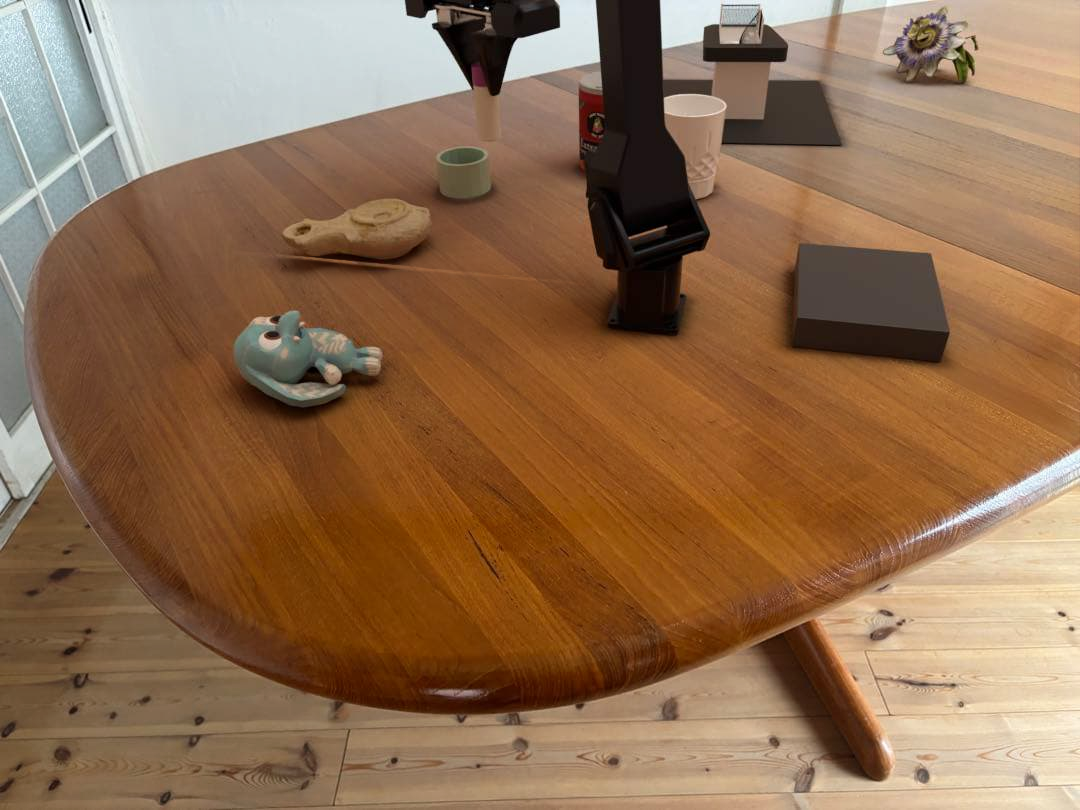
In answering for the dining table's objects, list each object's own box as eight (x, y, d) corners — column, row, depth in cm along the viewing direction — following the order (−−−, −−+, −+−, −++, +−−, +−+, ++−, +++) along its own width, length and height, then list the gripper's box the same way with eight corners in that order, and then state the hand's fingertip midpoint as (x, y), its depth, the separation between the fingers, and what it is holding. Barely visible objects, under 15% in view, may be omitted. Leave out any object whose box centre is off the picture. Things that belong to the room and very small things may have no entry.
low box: (940, 362, 68) (950, 331, 66) (791, 346, 71) (797, 317, 69) (923, 281, 79) (931, 252, 77) (794, 270, 82) (799, 242, 80)
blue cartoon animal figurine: (377, 356, 62) (213, 342, 61) (374, 429, 67) (221, 418, 65) (388, 287, 71) (244, 273, 69) (385, 355, 75) (249, 343, 73)
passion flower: (903, 116, 131) (868, 48, 127) (931, 86, 136) (899, 20, 132) (971, 87, 121) (936, 13, 118) (999, 55, 126) (966, -16, 123)
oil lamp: (283, 261, 87) (272, 217, 84) (397, 220, 94) (390, 178, 91) (332, 297, 81) (322, 251, 78) (450, 250, 88) (445, 206, 85)
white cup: (717, 204, 94) (725, 117, 88) (648, 201, 96) (652, 115, 90) (719, 178, 100) (727, 94, 94) (654, 175, 102) (658, 93, 96)
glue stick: (497, 142, 92) (491, 67, 87) (474, 141, 92) (467, 67, 87) (504, 134, 94) (499, 61, 89) (482, 133, 94) (475, 60, 90)
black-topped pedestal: (842, 145, 107) (862, 37, 99) (640, 142, 111) (644, 37, 103) (818, 81, 129) (834, -12, 121) (651, 80, 133) (655, -11, 125)
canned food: (569, 175, 103) (567, 85, 96) (595, 153, 108) (596, 66, 102) (625, 184, 100) (627, 92, 93) (650, 161, 105) (654, 72, 99)
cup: (482, 203, 97) (478, 167, 94) (433, 200, 98) (428, 164, 96) (497, 183, 102) (494, 147, 99) (450, 180, 103) (446, 145, 100)
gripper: (598, -76, 79) (598, 90, 89) (474, -86, 90) (486, 63, 100) (512, -60, 73) (523, 116, 83) (391, -72, 85) (413, 84, 94)
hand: (486, 92), depth 90 cm, fingers closed on glue stick, 3 cm apart
